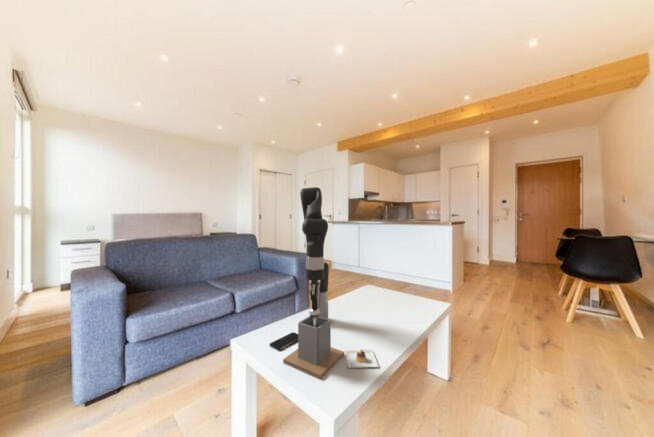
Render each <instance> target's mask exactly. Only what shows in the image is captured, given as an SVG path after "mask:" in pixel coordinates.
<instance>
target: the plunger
mask: <svg viewBox="0 0 654 437" xmlns="http://www.w3.org/2000/svg"><path fill="white" fill-rule="evenodd" d="M308 313H309V315H308V317H309V316H311V317H313V327H316V317H319V316H320V308H317V310H312V308H311V307H310V308H309V310H308Z"/></svg>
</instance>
